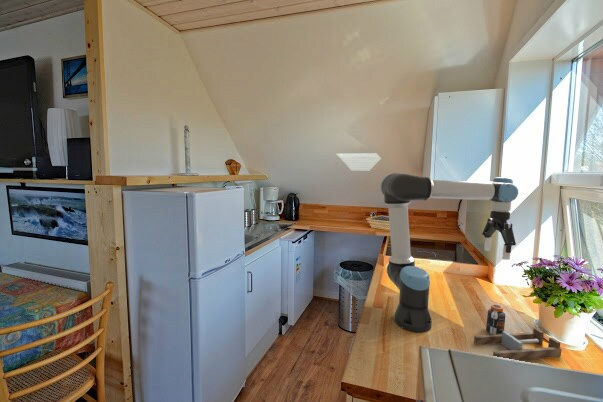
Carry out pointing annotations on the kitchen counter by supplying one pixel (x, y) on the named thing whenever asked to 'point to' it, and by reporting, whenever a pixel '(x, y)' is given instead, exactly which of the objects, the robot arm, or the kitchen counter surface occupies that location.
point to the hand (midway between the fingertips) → (496, 254)
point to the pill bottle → (495, 320)
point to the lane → (522, 354)
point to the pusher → (514, 341)
